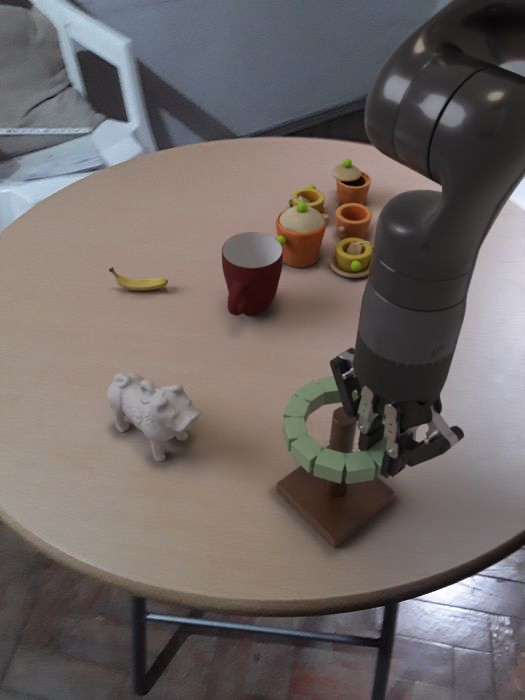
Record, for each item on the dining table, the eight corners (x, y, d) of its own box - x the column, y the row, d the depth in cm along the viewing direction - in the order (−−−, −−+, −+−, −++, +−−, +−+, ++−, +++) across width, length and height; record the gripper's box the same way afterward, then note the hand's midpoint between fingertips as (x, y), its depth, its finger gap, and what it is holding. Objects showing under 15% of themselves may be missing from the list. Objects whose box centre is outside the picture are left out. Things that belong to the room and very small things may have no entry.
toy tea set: (377, 287, 99) (385, 231, 92) (271, 279, 100) (272, 224, 94) (375, 191, 118) (382, 140, 111) (286, 186, 119) (288, 134, 112)
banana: (111, 293, 98) (107, 271, 95) (113, 286, 99) (109, 264, 96) (168, 294, 98) (165, 272, 95) (169, 286, 99) (167, 264, 96)
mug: (267, 343, 91) (267, 285, 84) (210, 331, 92) (206, 273, 85) (287, 294, 98) (289, 237, 91) (234, 284, 100) (232, 227, 93)
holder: (334, 448, 78) (345, 367, 69) (393, 499, 74) (413, 420, 64) (275, 491, 74) (278, 411, 65) (333, 548, 69) (345, 471, 60)
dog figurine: (183, 482, 75) (176, 421, 68) (105, 424, 81) (90, 362, 73) (215, 451, 78) (211, 390, 71) (138, 398, 84) (126, 336, 76)
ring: (343, 372, 72) (344, 359, 71) (428, 438, 66) (431, 425, 64) (259, 427, 67) (259, 414, 65) (343, 505, 60) (345, 493, 59)
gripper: (515, 353, 49) (464, 488, 62) (375, 264, 57) (354, 400, 69) (449, 403, 46) (409, 536, 58) (310, 301, 53) (300, 438, 66)
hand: (379, 462), depth 64 cm, fingers closed on ring, 2 cm apart
